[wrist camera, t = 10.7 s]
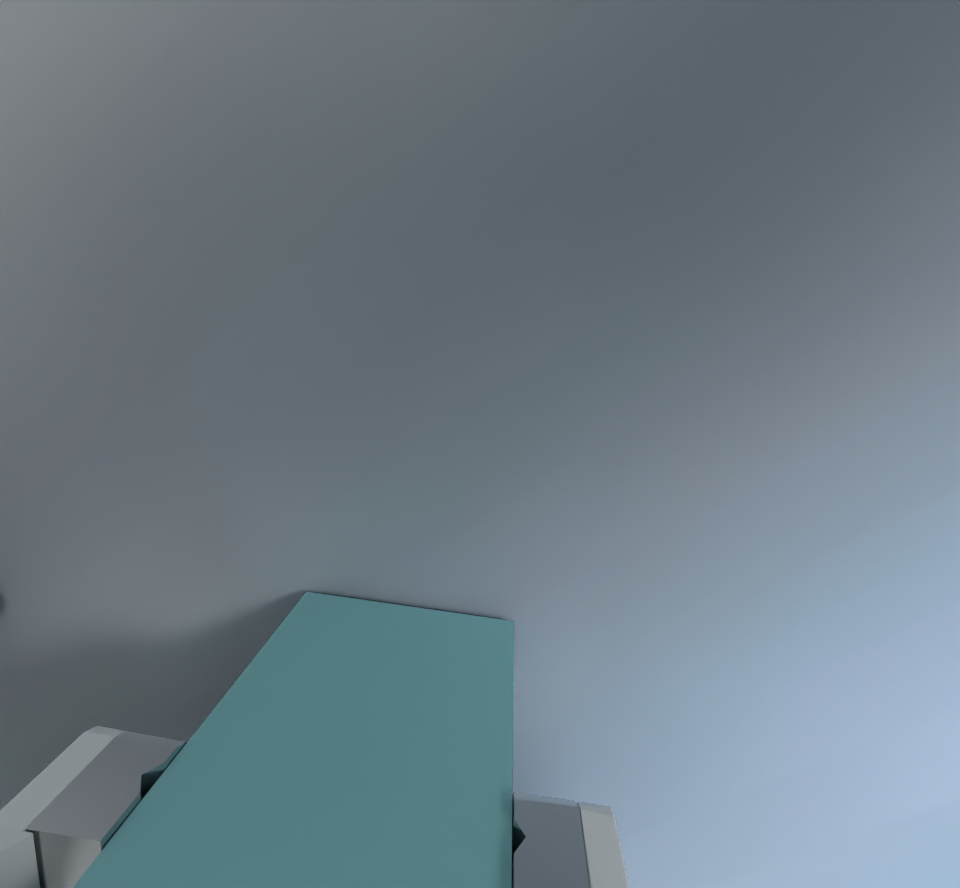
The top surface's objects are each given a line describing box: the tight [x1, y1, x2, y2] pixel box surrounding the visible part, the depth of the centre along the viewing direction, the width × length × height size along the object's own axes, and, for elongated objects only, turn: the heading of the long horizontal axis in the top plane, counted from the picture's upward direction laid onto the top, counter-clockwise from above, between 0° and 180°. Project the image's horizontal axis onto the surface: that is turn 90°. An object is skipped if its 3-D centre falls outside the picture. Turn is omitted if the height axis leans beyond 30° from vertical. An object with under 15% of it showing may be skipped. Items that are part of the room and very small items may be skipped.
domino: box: [73, 592, 514, 888], centre depth 7 cm, size 2×5×10 cm, turn 83°
